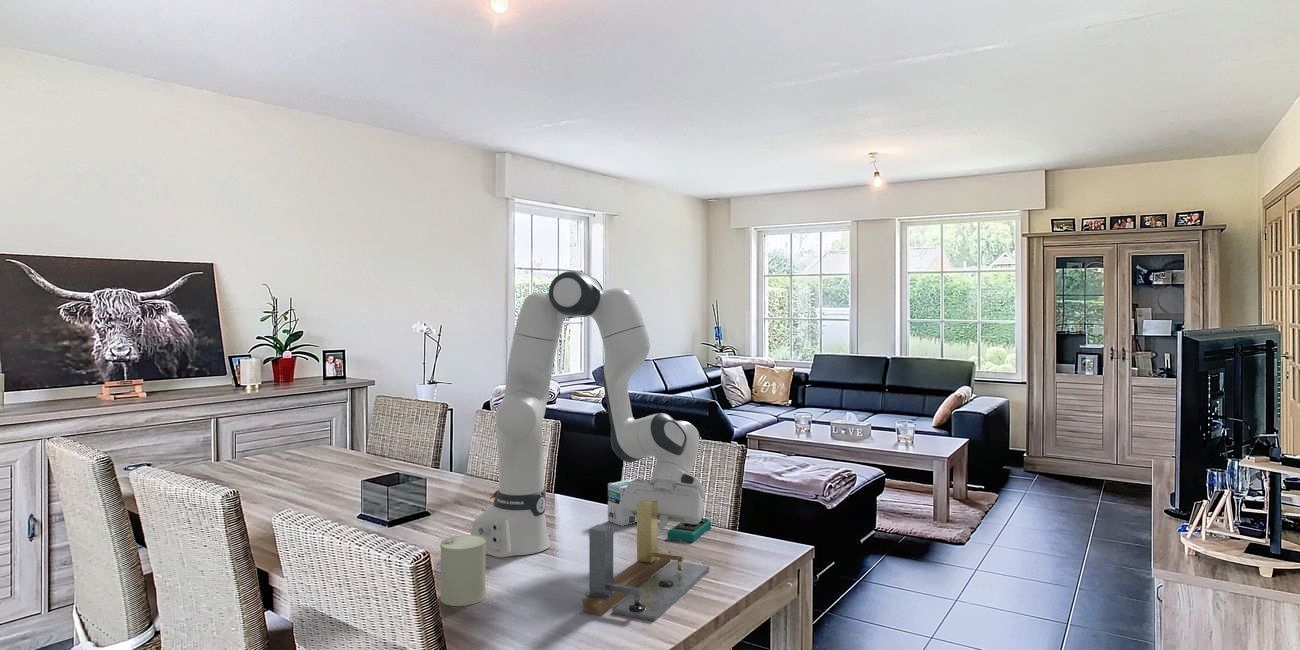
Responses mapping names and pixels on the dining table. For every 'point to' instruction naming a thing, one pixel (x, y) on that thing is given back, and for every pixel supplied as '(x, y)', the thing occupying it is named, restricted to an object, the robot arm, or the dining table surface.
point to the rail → (628, 578)
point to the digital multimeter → (689, 530)
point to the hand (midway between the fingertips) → (651, 534)
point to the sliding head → (650, 534)
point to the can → (463, 570)
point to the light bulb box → (614, 499)
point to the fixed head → (604, 566)
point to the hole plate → (661, 591)
